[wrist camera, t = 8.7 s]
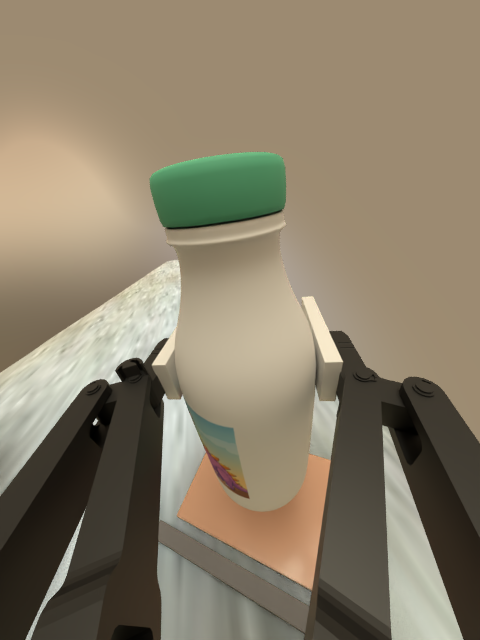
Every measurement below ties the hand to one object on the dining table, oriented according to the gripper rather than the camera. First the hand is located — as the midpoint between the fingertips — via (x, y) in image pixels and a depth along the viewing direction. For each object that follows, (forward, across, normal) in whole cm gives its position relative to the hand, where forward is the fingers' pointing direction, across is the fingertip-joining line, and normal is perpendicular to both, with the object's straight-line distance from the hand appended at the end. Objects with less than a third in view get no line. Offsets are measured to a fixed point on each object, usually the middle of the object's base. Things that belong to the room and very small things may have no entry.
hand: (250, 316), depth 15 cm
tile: (-5, 0, -20) cm, 20 cm away
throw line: (-11, -2, -20) cm, 23 cm away
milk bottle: (-5, 0, -11) cm, 12 cm away
